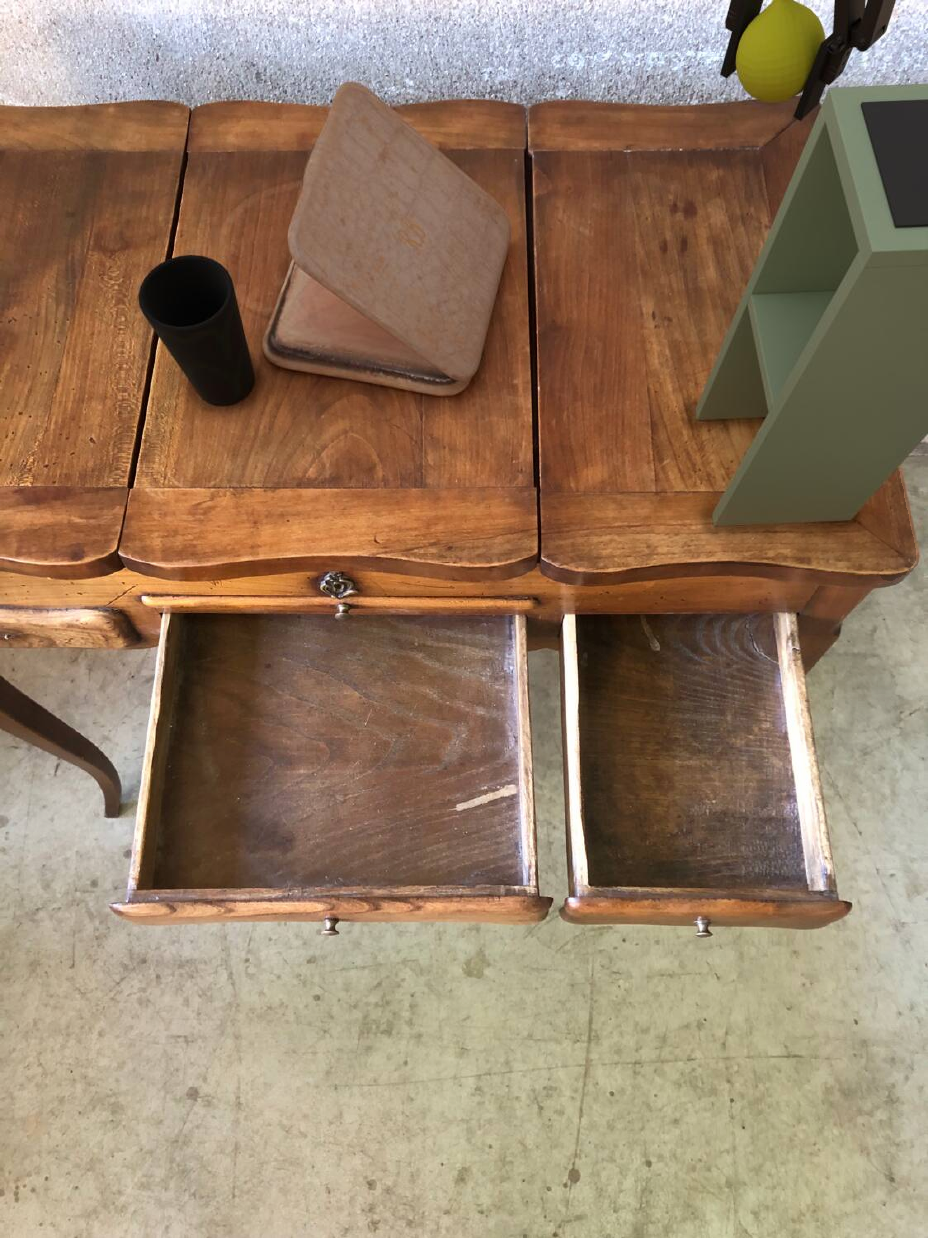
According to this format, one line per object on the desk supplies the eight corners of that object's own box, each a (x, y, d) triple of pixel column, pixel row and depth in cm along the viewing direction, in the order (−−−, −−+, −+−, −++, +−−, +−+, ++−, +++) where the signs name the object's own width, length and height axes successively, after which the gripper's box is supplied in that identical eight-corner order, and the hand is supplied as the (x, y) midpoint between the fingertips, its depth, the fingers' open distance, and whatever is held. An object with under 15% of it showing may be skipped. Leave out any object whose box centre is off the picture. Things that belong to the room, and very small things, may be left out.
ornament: (725, 62, 78) (760, -60, 68) (805, 66, 77) (850, -55, 68) (726, 119, 75) (762, 0, 66) (809, 124, 75) (856, 5, 65)
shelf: (824, 403, 79) (1039, 74, 49) (850, 520, 75) (1102, 238, 45) (694, 409, 79) (830, 83, 49) (713, 526, 75) (874, 248, 45)
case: (472, 408, 80) (471, 284, 65) (255, 367, 82) (206, 237, 66) (516, 238, 87) (525, 91, 72) (315, 204, 88) (283, 54, 73)
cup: (262, 416, 80) (227, 330, 68) (179, 415, 80) (131, 329, 69) (269, 347, 82) (237, 253, 71) (190, 347, 82) (145, 253, 71)
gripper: (719, -282, 56) (652, 58, 78) (993, -159, 51) (840, 169, 72) (786, -329, 58) (702, 15, 79) (1057, -215, 53) (889, 120, 74)
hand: (768, 88), depth 76 cm, fingers closed on ornament, 7 cm apart
